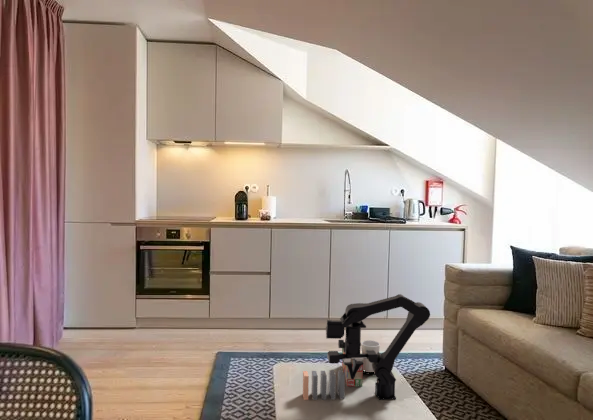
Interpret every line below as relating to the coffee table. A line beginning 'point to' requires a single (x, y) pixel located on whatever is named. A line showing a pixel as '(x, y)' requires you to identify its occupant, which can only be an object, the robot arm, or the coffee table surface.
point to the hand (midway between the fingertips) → (352, 378)
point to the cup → (369, 346)
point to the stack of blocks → (358, 377)
